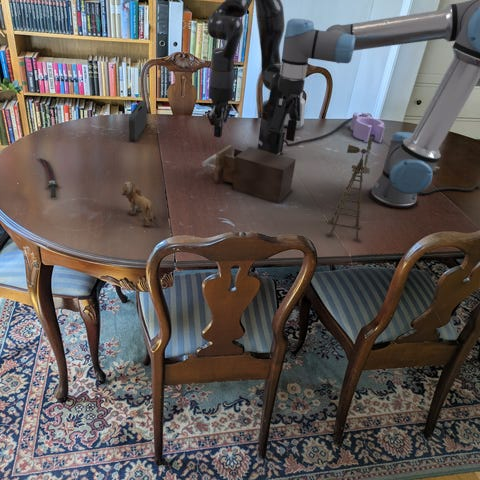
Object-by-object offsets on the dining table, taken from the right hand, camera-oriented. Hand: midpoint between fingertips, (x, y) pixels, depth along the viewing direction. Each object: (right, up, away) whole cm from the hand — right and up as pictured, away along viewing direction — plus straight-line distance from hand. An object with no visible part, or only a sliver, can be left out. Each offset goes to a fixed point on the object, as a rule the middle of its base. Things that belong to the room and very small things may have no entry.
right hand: (281, 146), depth 147 cm
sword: (-76, -9, +4) cm, 76 cm away
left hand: (-21, +5, +9) cm, 23 cm away
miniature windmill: (+18, -27, -7) cm, 33 cm away
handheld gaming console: (-55, +15, +45) cm, 73 cm away
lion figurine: (-43, -23, -11) cm, 50 cm away
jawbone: (+58, +1, +42) cm, 72 cm away
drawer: (-15, -8, +14) cm, 22 cm away
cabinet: (-6, -13, +11) cm, 18 cm away
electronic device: (+9, +23, +69) cm, 74 cm away
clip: (+44, +19, +69) cm, 84 cm away
